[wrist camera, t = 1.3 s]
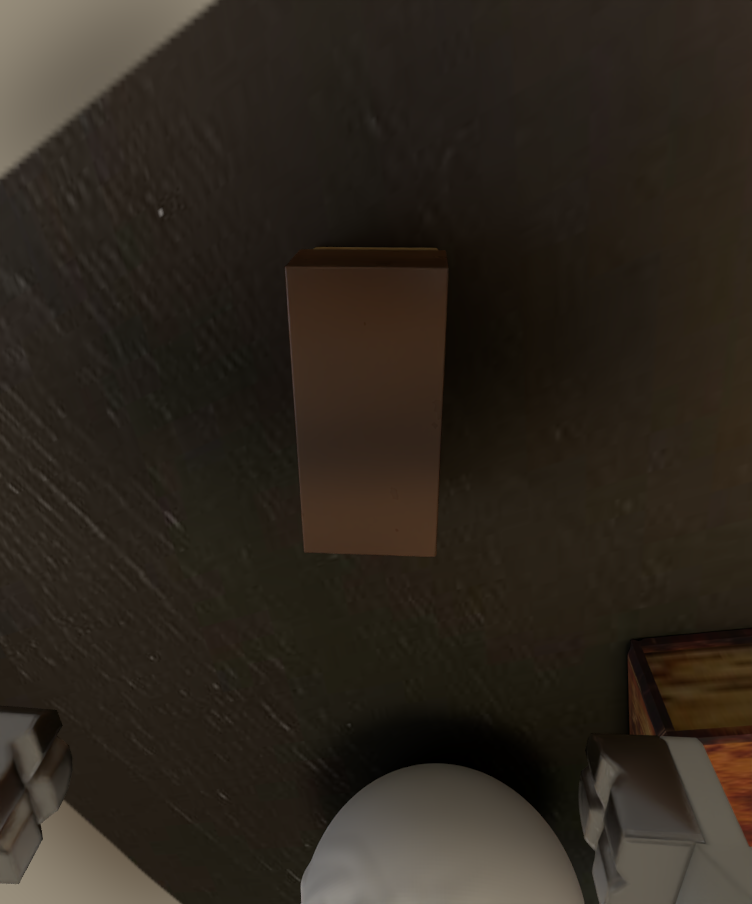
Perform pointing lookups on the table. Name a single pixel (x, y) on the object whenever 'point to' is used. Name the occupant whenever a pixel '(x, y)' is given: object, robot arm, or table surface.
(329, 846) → the decorative ball
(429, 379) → the brown rectangular block
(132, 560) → the table surface
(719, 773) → the book
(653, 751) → the robot arm
